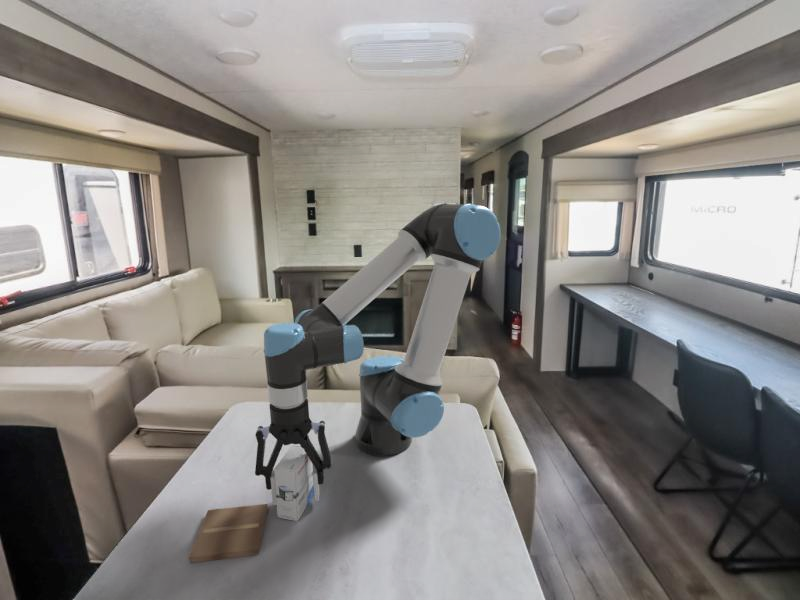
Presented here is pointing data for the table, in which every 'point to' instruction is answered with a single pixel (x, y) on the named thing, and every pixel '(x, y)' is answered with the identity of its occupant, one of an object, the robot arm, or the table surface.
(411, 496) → the table surface
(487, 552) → the table surface
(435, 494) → the table surface
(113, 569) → the table surface
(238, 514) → the cardboard box
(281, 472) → the ink box
